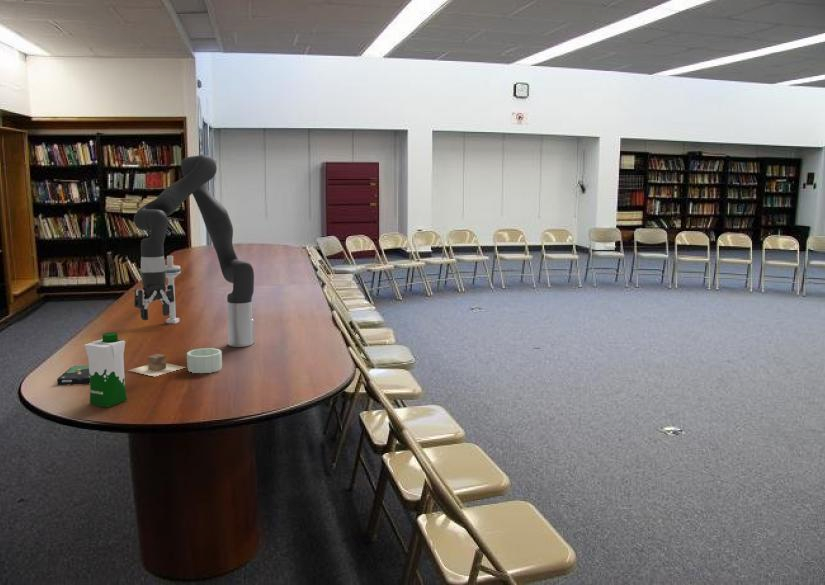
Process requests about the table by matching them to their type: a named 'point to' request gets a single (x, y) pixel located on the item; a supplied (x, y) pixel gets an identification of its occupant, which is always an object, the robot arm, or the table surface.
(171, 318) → the model tower
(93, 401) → the milk carton
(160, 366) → the birch lid
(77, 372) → the disk drive
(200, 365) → the green bowl
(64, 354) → the table surface
